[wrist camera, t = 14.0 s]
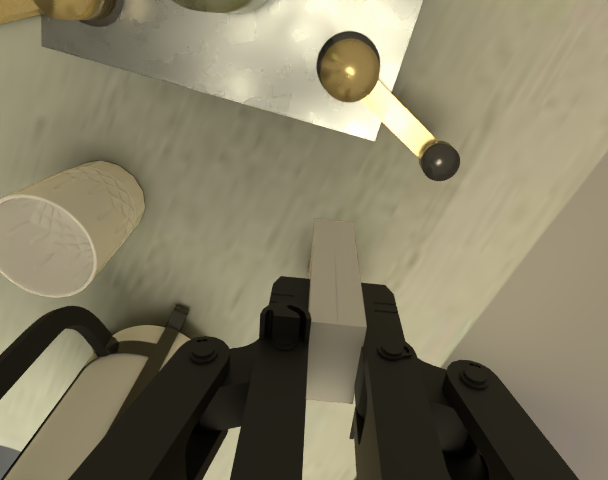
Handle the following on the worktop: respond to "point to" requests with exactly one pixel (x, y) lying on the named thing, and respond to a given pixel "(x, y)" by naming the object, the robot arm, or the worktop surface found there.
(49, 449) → the coffee press
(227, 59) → the base
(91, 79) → the worktop surface
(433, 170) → the lever
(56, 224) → the white cup
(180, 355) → the robot arm
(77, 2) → the lever
